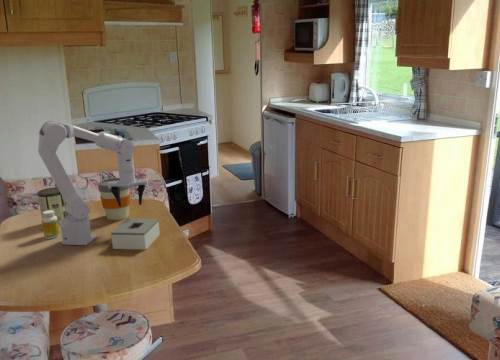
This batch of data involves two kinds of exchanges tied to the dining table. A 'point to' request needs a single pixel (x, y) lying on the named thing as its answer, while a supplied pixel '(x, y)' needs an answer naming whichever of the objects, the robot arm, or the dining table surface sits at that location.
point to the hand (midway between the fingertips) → (130, 204)
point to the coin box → (135, 234)
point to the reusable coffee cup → (114, 200)
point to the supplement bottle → (50, 224)
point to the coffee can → (52, 203)
